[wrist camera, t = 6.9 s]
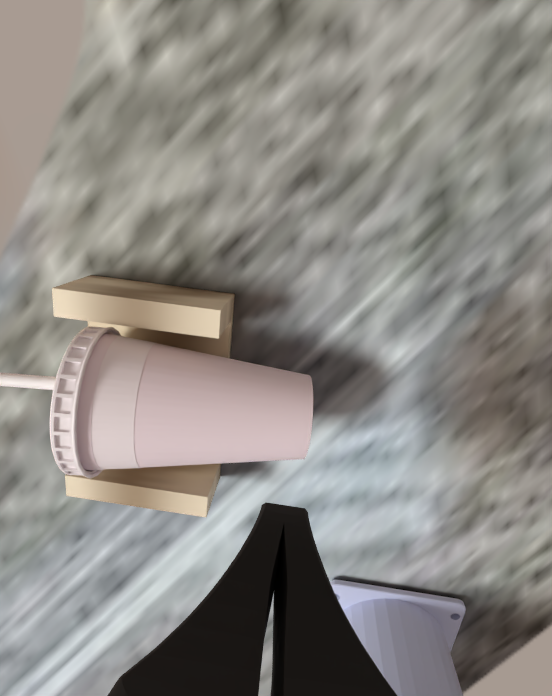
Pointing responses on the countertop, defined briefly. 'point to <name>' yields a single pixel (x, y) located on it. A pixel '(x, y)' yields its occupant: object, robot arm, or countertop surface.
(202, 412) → the smoothie
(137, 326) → the u rest
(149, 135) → the countertop surface
